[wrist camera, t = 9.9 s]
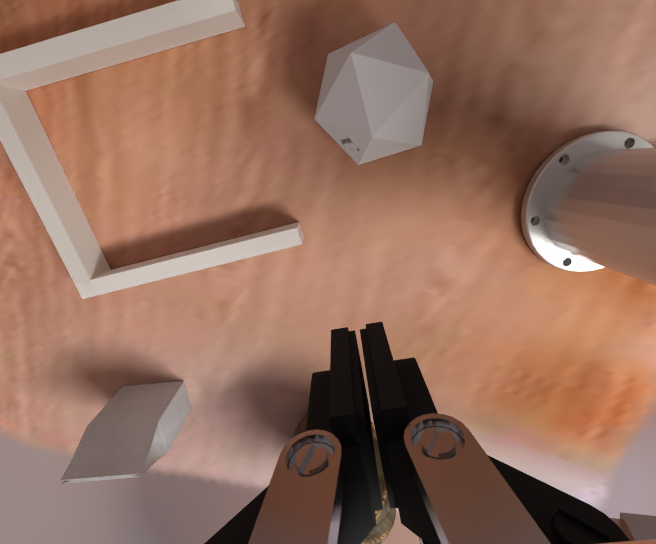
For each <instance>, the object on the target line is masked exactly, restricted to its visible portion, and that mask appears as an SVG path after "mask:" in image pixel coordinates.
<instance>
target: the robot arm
mask: <svg viewBox="0 0 656 544" xmlns="http://www.w3.org/2000/svg"><path fill="white" fill-rule="evenodd" d="M559 159H560V160H559ZM531 219H532V220H531ZM521 226H522V230H523V235H524V237H525V240H526V242H527V244H528V246H529V247H530V249H531V250H532V251H533V252H534V254H535V255H536V256H538V257H539V258H540V259H541V260H543V261H544V262H546V263H548V264H550V265H552V266H554V267H557V268H559V269H562V270H566V271H574V272H584V271H592V270H597V269H601V268H604V267H606V268H609V269H612V270H614V271H617V272H620V273H622V274H625V275H628V276H631V277H633V278H636V279H639V280H642V281H644V282H647V283H650V284H653V285H655V286H656V147H653V146H652V145H651V144H650V143H649V142H648V141H647V140H645V139H643V138H642V137H640V136H638V135H636V134H633V133H629V132H625V131H611V130H610V131H601V132H594V133H590V134H586V135H582V136H580V137H578V138H576V139H573V140H571V141H569V142H567V143H566V144H564V145H563V146H561V147H560V148H558V149H557V150H555V151H554V152H553V153H552V154H551V155H550V156H549V157H548V158H547V159H546V160H545V161H544V162H543V163H542V164H541V166H540V167H539V168H538V169H537V171H536V172H535V174H534V175H533V177H532V179H531V181H530V183H529V184H528V187H527V189H526V192H525V195H524V198H523V202H522V208H521ZM360 334H361V340H362V347H363V354H364V361H365V368H366V375H367V381H368V388H369V395H370V402H371V408H372V414H373V420H374V426H375V431H376V436H377V442H378V447H379V453H380V458H381V464H382V469H383V474H384V480H385V485H386V491H387V496H388V501H389V507H390V509H392V508H399V513H400V519H401V523H402V524H403V525H404V526H405V527H407V528H408V529H409V530H411V531H412V532H413V533H415V534H416V535H417V536H418V537H419V540H420V544H656V516H648V515H639V514H629V513H620V519H615V518H609V517H608V516H606V515H605V514H604V513H602V512H601V511H599V510H597V509H596V508H594V507H592V506H591V505H589V504H587V503H585V502H583V501H581V500H579V499H577V498H575V497H573V496H571V495H568V494H566V493H564V492H562V491H560V490H558V489H556V488H554V487H552V486H550V485H548V484H546V483H544V482H542V481H540V480H538V479H536V478H533V477H531V476H529V475H527V474H525V473H523V472H521V471H519V470H517V469H515V468H513V467H511V466H509V465H507V464H505V463H503V462H500V461H498V460H496V459H494V458H492V457H490V456H488V455H487V454H486V453H485V451H484V450H483V449H482V447H481V446H480V445H479V443H478V442H477V440H476V439H475V438H474V436H473V435H472V433H471V432H470V431H469V429H468V428H467V427H466V426H465V425H464V424H463V423H462V422H460V421H459V420H457V419H455V418H454V417H451V416H448V415H444V414H438V413H437V410H436V408H435V406H434V403H433V401H432V398H431V396H430V393H429V391H428V388H427V386H426V383H425V381H424V379H423V376H422V374H421V371H420V369H419V366H418V364H417V361H416V359H415V358H408V359H401V360H394V361H393V357H392V354H391V351H390V347H389V344H388V340H387V337H386V334H385V330H384V327H383V323H382V322H377V323H371V324H366V329H361V330H360ZM375 510H383V506H382V498H381V491H380V484H379V476H378V469H377V462H376V454H375V447H374V440H373V433H372V425H371V418H370V411H369V404H368V398H367V393H366V388H365V382H364V377H363V371H362V366H361V361H360V355H359V350H358V345H357V339H356V334H355V331H349V330H348V327H346V328H340V329H334V330H331V362H330V370H329V371H322V372H316V373H313V374H312V381H311V390H310V399H309V408H308V417H307V426H306V432H303V433H300V434H298V435H297V436H295V437H294V438H292V439H291V440H290V441H289V442H288V443H287V444H286V445H285V446H284V448H283V450H282V452H281V454H280V456H279V459H278V462H277V464H276V467H275V470H274V473H273V476H272V478H271V481H270V484H269V486H268V487H267V488H266V489H264V490H263V491H262V492H261V493H260V494H259V495H258V496H257V497H256V498H255V499H254V500H252V501H251V502H250V503H249V504H248V505H247V506H246V507H245V508H243V509H242V510H241V511H240V512H239V513H238V514H237V515H236V516H235V517H233V518H232V519H231V520H230V521H229V522H228V523H227V524H226V525H225V526H224V527H222V528H221V529H220V530H219V531H218V532H217V533H216V534H215V535H214V536H212V537H211V538H210V539H209V540H208V541H207V542H206V543H205V544H363V541H364V539H365V538H366V537H367V535H368V534H369V533H370V532H371V530H372V529H373V528H374V527H375V526H377V524H376V515H375Z"/></svg>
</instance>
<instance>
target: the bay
mask: <svg viewBox="0 0 656 544" xmlns="http://www.w3.org/2000/svg"><path fill="white" fill-rule="evenodd" d="M243 27H245V25H244V21H243V17H242V14H241V10H240V7H239V4H238V2H237V0H177V1H174V2H171V3H167V4H164V5H161V6H157V7H154V8H151V9H147V10H144V11H141V12H137V13H134V14H131V15H128V16H124V17H121V18H118V19H114V20H111V21H108V22H104V23H101V24H98V25H94V26H91V27H88V28H84V29H81V30H78V31H74V32H71V33H68V34H65V35H61V36H58V37H55V38H51V39H48V40H45V41H41V42H38V43H35V44H31V45H28V46H25V47H21V48H18V49H15V50H11V51H8V52H5V53H1V54H0V141H1V143H2V145H3V147H4V149H5V151H6V152H7V154H8V156H9V158H10V160H11V162H12V164H13V166H14V168H15V170H16V172H17V174H18V176H19V178H20V179H21V181H22V183H23V185H24V187H25V189H26V191H27V193H28V195H29V197H30V199H31V201H32V203H33V205H34V206H35V208H36V210H37V212H38V214H39V216H40V218H41V220H42V222H43V224H44V226H45V228H46V230H47V232H48V233H49V235H50V237H51V239H52V241H53V243H54V245H55V247H56V249H57V251H58V253H59V255H60V257H61V259H62V260H63V262H64V264H65V266H66V268H67V270H68V272H69V274H70V276H71V278H72V280H73V282H74V284H75V285H76V287H77V289H78V291H79V293H80V295H81V297H82V299H85V298H89V297H93V296H97V295H101V294H105V293H109V292H113V291H117V290H121V289H125V288H129V287H133V286H137V285H141V284H145V283H149V282H153V281H157V280H161V279H165V278H169V277H173V276H177V275H181V274H185V273H189V272H193V271H197V270H201V269H205V268H209V267H213V266H217V265H221V264H225V263H229V262H233V261H237V260H241V259H245V258H249V257H253V256H257V255H261V254H265V253H269V252H273V251H277V250H281V249H285V248H289V247H293V246H297V245H301V244H302V241H303V234H302V230H301V226H300V223H299V222H297V223H293V224H289V225H285V226H281V227H277V228H273V229H269V230H266V231H262V232H258V233H254V234H250V235H246V236H242V237H238V238H234V239H230V240H226V241H222V242H218V243H214V244H210V245H206V246H202V247H198V248H195V249H191V250H187V251H183V252H179V253H175V254H171V255H167V256H163V257H159V258H155V259H151V260H147V261H143V262H139V263H135V264H131V265H128V266H124V267H120V268H116V269H112V270H111V269H110V267H109V265H108V263H107V261H106V259H105V257H104V254H103V252H102V250H101V248H100V246H99V244H98V242H97V240H96V238H95V236H94V233H93V231H92V229H91V227H90V225H89V223H88V221H87V219H86V217H85V215H84V212H83V210H82V208H81V206H80V204H79V202H78V200H77V198H76V196H75V194H74V191H73V189H72V187H71V185H70V183H69V181H68V179H67V177H66V175H65V173H64V170H63V168H62V166H61V164H60V162H59V160H58V158H57V156H56V154H55V152H54V149H53V147H52V145H51V143H50V141H49V139H48V137H47V135H46V133H45V131H44V128H43V126H42V124H41V122H40V120H39V118H38V116H37V114H36V112H35V110H34V107H33V105H32V103H31V101H30V99H29V97H28V95H27V93H26V91H28V90H31V89H34V88H38V87H41V86H45V85H48V84H51V83H55V82H58V81H62V80H65V79H69V78H72V77H75V76H79V75H82V74H86V73H89V72H92V71H96V70H99V69H103V68H106V67H110V66H113V65H116V64H120V63H123V62H127V61H130V60H133V59H137V58H140V57H144V56H147V55H150V54H154V53H157V52H161V51H164V50H168V49H171V48H174V47H178V46H181V45H185V44H188V43H191V42H195V41H198V40H202V39H205V38H209V37H212V36H215V35H219V34H222V33H226V32H229V31H232V30H236V29H239V28H243Z"/></svg>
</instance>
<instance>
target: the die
mask: <svg viewBox="0 0 656 544" xmlns="http://www.w3.org/2000/svg"><path fill="white" fill-rule="evenodd" d="M432 87H433V80H432V78H431V76H430V74H429V72H428V71H427V69H426V68H425V66H424V65H423V63H422V62H421V60H420V58H419V57H418V55H417V54H416V52H415V51H414V49H413V48H412V46H411V45H410V43H409V42H408V40H407V39H406V37H405V36H404V34H403V33H402V31H401V30H400V28H399V27H398V25H397V24H396V22H393V23H391V24H389V25H387V26H385V27H383V28H381V29H379V30H377V31H375V32H373V33H371V34H368V35H366V36H364V37H362V38H360V39H358V40H356V41H354V42H352V43H350V44H348V45H346V46H344V47H341V48H339V49H337V50H335V51H333V52H331V53H329V54H328V56H327V61H326V66H325V71H324V75H323V80H322V85H321V90H320V94H319V99H318V104H317V108H316V113H315V118H314V119H315V120H316V121H317V122H318V124H319V125H320V126H321V127H322V128H323V129H324V130H325V131H326V132H327V133H328V134H329V135H330V136H331V137H332V138H333V139H334V140H335V141H336V142H337V143H338V145H339V146H340V147H341V148H342V149H343V150H344V151H345V152H346V153H347V154H348V155H349V156H350V157H351V158H352V159H353V160H354V161H355V162H356V163H357V164H358V165H361V164H364V163H367V162H370V161H373V160H376V159H380V158H383V157H386V156H389V155H392V154H396V153H399V152H402V151H405V150H408V149H411V148H415V147H418V146H421V145H422V140H423V134H424V129H425V124H426V119H427V113H428V108H429V103H430V97H431V92H432Z"/></svg>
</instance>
